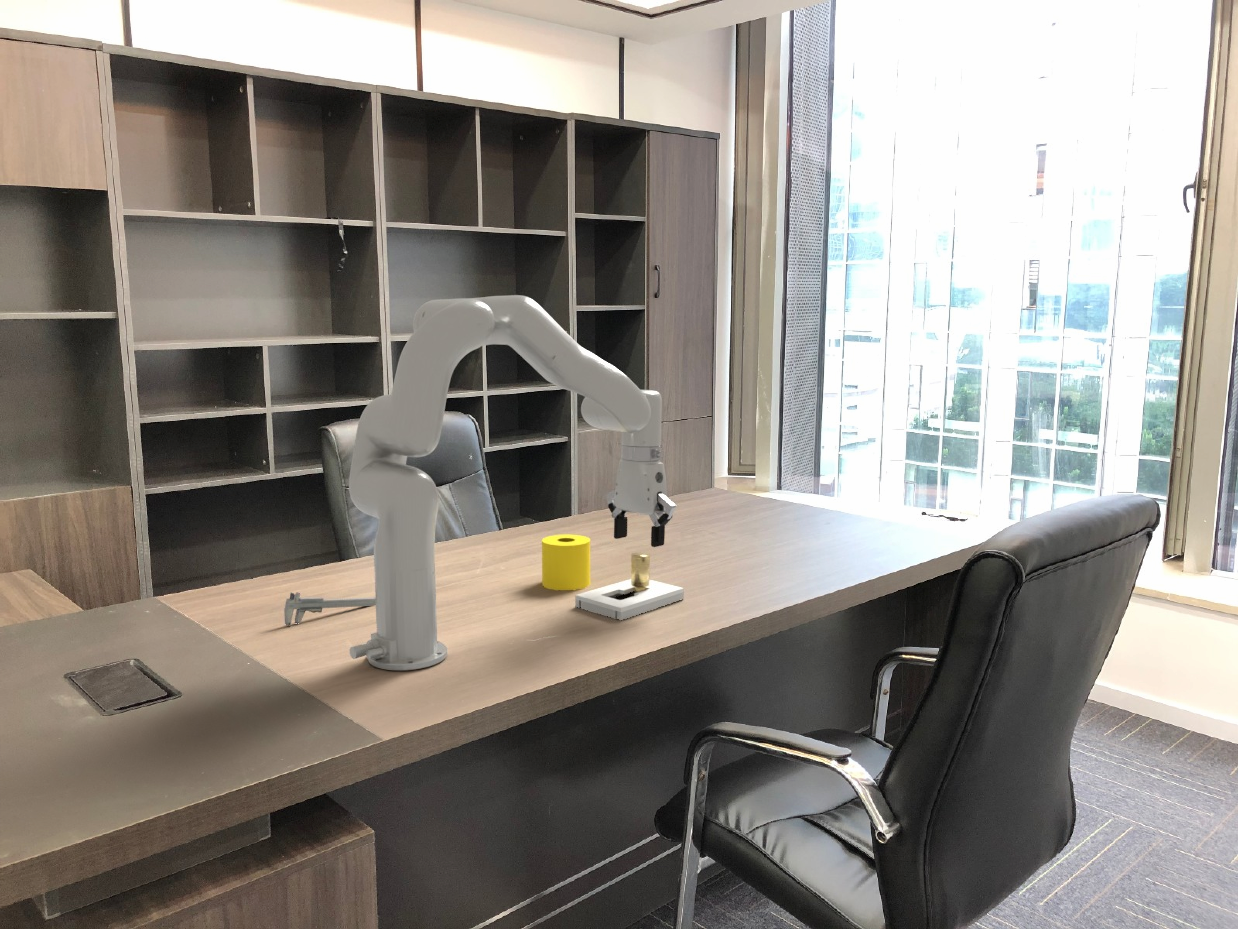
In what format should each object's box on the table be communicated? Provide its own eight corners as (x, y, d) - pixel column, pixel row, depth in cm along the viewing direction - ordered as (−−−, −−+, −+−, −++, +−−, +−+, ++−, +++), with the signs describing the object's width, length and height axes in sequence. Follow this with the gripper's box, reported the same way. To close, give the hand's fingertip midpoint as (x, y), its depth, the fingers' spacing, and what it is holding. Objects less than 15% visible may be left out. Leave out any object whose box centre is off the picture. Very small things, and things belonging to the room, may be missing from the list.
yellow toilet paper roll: (560, 575, 204) (559, 532, 203) (599, 582, 199) (599, 538, 198) (532, 586, 196) (532, 541, 195) (573, 593, 191) (572, 547, 189)
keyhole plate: (621, 620, 174) (621, 608, 173) (575, 607, 182) (575, 595, 181) (683, 599, 186) (683, 588, 186) (638, 588, 195) (638, 576, 194)
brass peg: (641, 604, 183) (641, 558, 182) (625, 600, 186) (625, 554, 185) (654, 600, 186) (654, 554, 185) (639, 596, 189) (639, 551, 188)
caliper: (288, 629, 169) (286, 595, 168) (285, 627, 170) (283, 593, 169) (385, 604, 184) (384, 572, 183) (382, 602, 185) (380, 571, 184)
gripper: (688, 457, 179) (685, 546, 181) (621, 448, 190) (619, 532, 193) (662, 460, 173) (659, 552, 176) (595, 451, 185) (593, 537, 187)
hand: (638, 541), depth 184 cm, fingers open, 9 cm apart
